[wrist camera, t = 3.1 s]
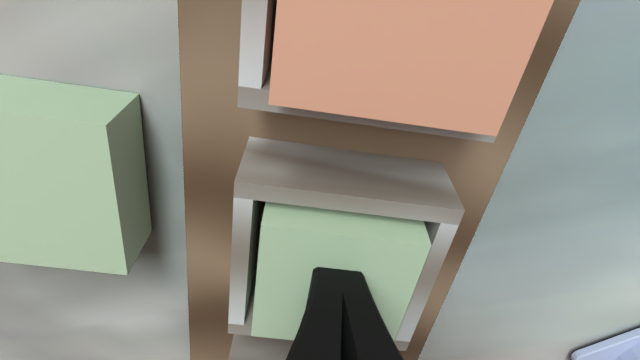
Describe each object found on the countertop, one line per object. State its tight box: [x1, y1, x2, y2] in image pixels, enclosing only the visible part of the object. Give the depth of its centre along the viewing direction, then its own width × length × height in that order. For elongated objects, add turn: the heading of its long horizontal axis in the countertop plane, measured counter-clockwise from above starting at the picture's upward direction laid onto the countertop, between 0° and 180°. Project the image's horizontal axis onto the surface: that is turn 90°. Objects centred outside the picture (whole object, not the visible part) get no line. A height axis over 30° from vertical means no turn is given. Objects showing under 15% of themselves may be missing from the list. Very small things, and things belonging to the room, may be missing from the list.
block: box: [0, 74, 152, 275], centre depth 14 cm, size 6×6×2 cm
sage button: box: [251, 202, 432, 341], centre depth 13 cm, size 4×4×3 cm
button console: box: [178, 0, 580, 360], centre depth 14 cm, size 28×10×4 cm, turn 172°
